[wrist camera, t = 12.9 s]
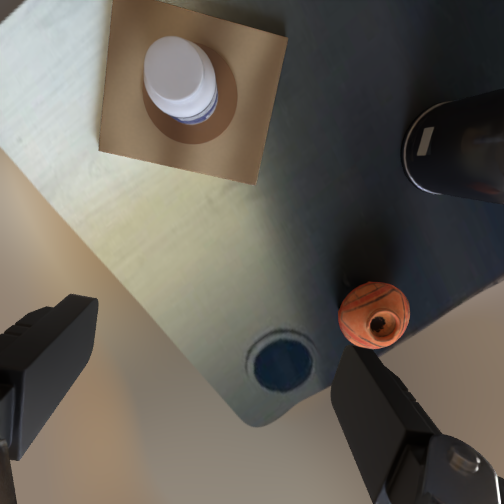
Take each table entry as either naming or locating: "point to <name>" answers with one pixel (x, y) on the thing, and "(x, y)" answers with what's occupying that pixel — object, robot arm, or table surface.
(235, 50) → the place mat
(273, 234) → the table surface
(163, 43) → the pill bottle
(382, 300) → the pot
